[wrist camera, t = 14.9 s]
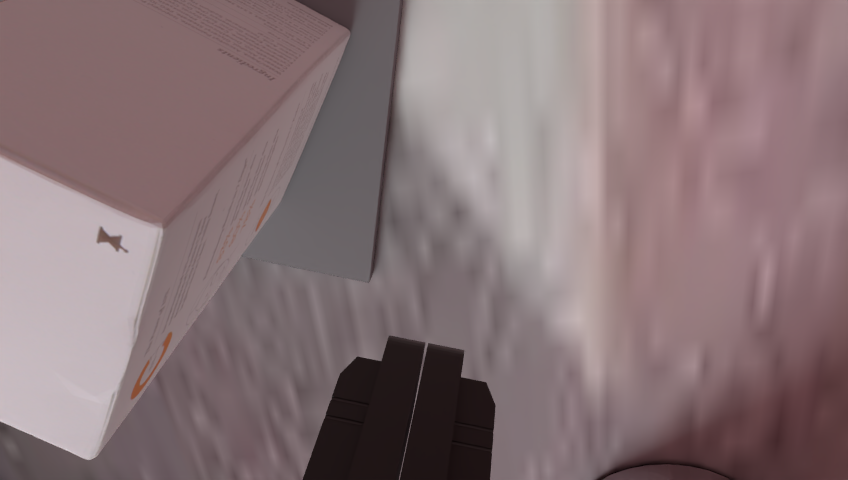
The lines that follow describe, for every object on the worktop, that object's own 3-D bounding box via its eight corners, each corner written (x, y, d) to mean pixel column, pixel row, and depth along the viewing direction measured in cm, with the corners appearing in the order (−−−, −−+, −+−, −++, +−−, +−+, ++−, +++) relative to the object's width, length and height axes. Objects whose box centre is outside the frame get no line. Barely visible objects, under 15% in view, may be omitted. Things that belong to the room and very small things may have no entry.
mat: (419, -144, 19) (415, -143, 19) (372, 274, 28) (369, 282, 28) (-250, -256, 21) (-270, -258, 20) (-94, 178, 30) (-104, 184, 29)
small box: (183, -66, 21) (-196, 50, 10) (356, 29, 22) (172, 228, 11) (135, 132, 26) (-165, 358, 15) (281, 205, 26) (96, 470, 16)
